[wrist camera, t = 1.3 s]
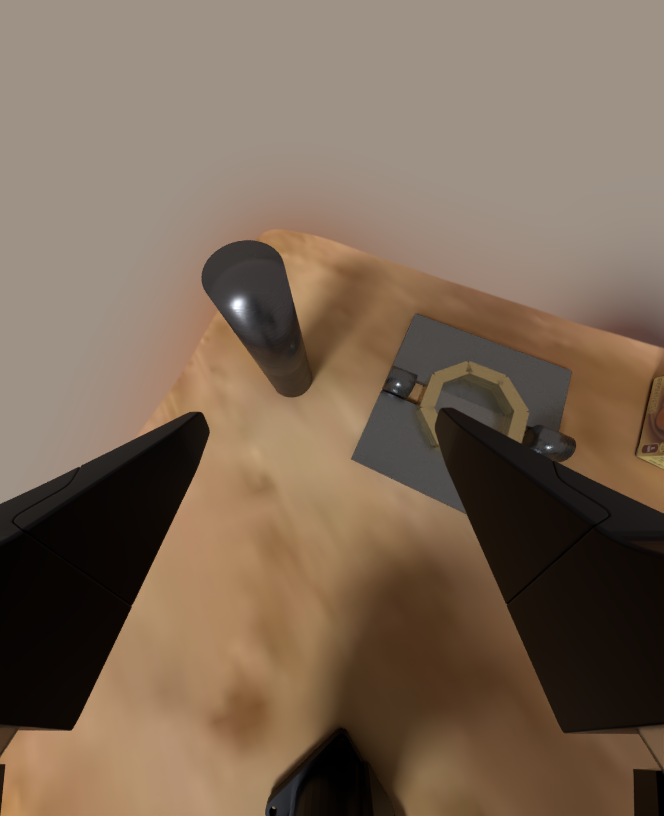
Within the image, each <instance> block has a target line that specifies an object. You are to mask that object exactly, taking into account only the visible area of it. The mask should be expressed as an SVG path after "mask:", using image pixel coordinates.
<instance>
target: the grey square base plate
mask: <svg viewBox="0 0 664 816" xmlns="http://www.w3.org/2000/svg"><path fill="white" fill-rule="evenodd" d="M571 373H572V371H570V370H568V369H565V368H562V367H560V366H557V365H554V364H551V363H549V362H546V361H543V360H541V359H538V358H535V357H532V356H530V355H527V354H524V353H522V352H519V351H516V350H513V349H511V348H508V347H505V346H503V345H500V344H497V343H494V342H492V341H489V340H486V339H484V338H481V337H478V336H475V335H473V334H470V333H467V332H464V331H462V330H459V329H456V328H454V327H451V326H448V325H445V324H443V323H440V322H437V321H435V320H432V319H429V318H426V317H424V316H421V315H418V314H416V313H415V316H414V318H413V320H412V322H411V325H410V327H409V329H408V331H407V334H406V336H405V338H404V340H403V343H402V345H401V347H400V350H399V352H398V354H397V356H396V359H395V361H394V363H393V365H392V368H391V370H390V372H389V375H388V377H387V379H386V381H385V384H384V386H383V389H385V390H387V391H389V392H392V393H394V394H396V395H399V396H401V397H404V398H406V399H407V398H408V396H409V395H410V393H411V391H412V389H413V387H414V385H415V383H418V384H421V385H423V389H422V391H421V394H420V396H419V399H418V401H417V404H416V405H415V404H413V403H411V402H408V401H406V400H403V399H401V398H399V397H396V396H394V395H392V394H389V393H387V392H385V391H381V393H380V395H379V397H378V399H377V402H376V404H375V406H374V409H373V411H372V413H371V415H370V418H369V420H368V422H367V424H366V427H365V429H364V431H363V434H362V436H361V438H360V440H359V443H358V445H357V447H356V449H355V452H354V454H353V456H352V458H351V460H354V461H356V462H358V463H360V464H362V465H364V466H366V467H368V468H370V469H373V470H375V471H377V472H379V473H381V474H383V475H385V476H387V477H389V478H391V479H394V480H396V481H398V482H400V483H402V484H404V485H406V486H408V487H410V488H412V489H415V490H417V491H419V492H421V493H423V494H425V495H427V496H429V497H431V498H434V499H436V500H438V501H440V502H442V503H444V504H446V505H448V506H450V507H452V508H455V509H457V510H459V511H461V512H463V513H465V514H466V511H465V509H464V507H463V504H462V502H461V500H460V498H459V495H458V493H457V491H456V488H455V486H454V484H453V482H452V479H451V477H450V475H449V473H448V470H447V468H446V465H445V462H444V459H443V456H442V453H441V449H440V446H439V443H438V439H437V436H436V433H435V422H436V419H437V415H438V412H439V410H440V408H443V407H452V408H454V409H456V410H458V411H460V412H462V413H464V414H466V415H468V416H470V417H472V418H473V419H475V420H477V421H479V422H481V423H483V424H485V425H487V426H489V427H491V428H493V429H495V430H496V431H498V432H500V433H502V434H504V435H506V436H508V437H510V438H512V439H514V440H516V441H518V442H519V443H522V440H523V445H525V446H527V447H529V448H531V449H533V450H535V451H537V452H539V453H541V454H542V455H544V456H546V457H548V458H550V459H552V460H553V461H556V462H562V461H565V460H567V459H568V458H570V457H571V456H572V454H573V453H574V451H575V448H576V442H575V440H574V439H573V438H572V437H570V436H567V435H565V434H562V433H560V432H559V428H560V424H561V419H562V414H563V410H564V405H565V400H566V396H567V391H568V387H569V382H570V377H571ZM525 428H528V429H529V430H528V431H527V432H526V434H525V436H524V432H525ZM523 436H524V438H523Z"/></svg>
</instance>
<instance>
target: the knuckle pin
mask: <svg viewBox="0 0 664 816" xmlns="http://www.w3.org/2000/svg"><path fill="white" fill-rule="evenodd" d="M202 284H203V287H204V290H205V291H206V293H207V294H208V296H209V297H210V299H211V300H212V301H213V303H214V304H215V306H216V307H217V308H218V310H219V311H220V313H221V314H222V315H223V317H224V318H225V320H226V321H227V322H228V324H229V325H230V327H231V328H232V329H233V331H234V332H235V334H236V335H237V336H238V338H239V339H240V341H241V342H242V343H243V345H244V346H245V347H246V349H247V350H248V352H249V353H250V354H251V356H252V357H253V359H254V360H255V361H256V363H257V364H258V366H259V367H260V368H261V370H262V371H263V373H264V374H265V375H266V377H267V378H268V380H269V381H270V382H271V384H272V385H273V386H274V388H275V389H276V391H277V392H278V393H279V394H281V395H283V396H285V397H297V396H300V395H302V394H304V393H305V392H306V391H307V390H308V389H309V387H310V385H311V382H312V374H311V370H310V366H309V362H308V358H307V354H306V350H305V346H304V342H303V338H302V334H301V330H300V326H299V322H298V318H297V314H296V310H295V306H294V302H293V298H292V294H291V290H290V286H289V282H288V278H287V274H286V270H285V266H284V263H283V260H282V258H281V256H280V254H279V253H278V252H277V251H276V250H275V249H274V248H272V247H271V246H269V245H267V244H265V243H262V242H258V241H251V240H246V241H238V242H234V243H231V244H228V245H226V246H224V247H222V248H220V249H219V250H217V251H216V252H215V253H214V254H213V255H211V257H210V258H209V259H208V260H207V262H206V264H205V266H204V268H203V271H202Z"/></svg>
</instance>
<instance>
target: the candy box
mask: <svg viewBox="0 0 664 816" xmlns="http://www.w3.org/2000/svg"><path fill="white" fill-rule="evenodd" d="M635 456H636V457H639V458H641V459H643V460H645V461H647V462H649V463H652V464H654V465H656V466H658V467H660V468H662V469H664V376H661V377H658V378H655V379H654V382H653V387H652V391H651V396H650V399H649V403H648V407H647V413H646V417H645V421H644V426H643V430H642V435H641V440H640V444H639V446H638V448H637V451H636V455H635Z"/></svg>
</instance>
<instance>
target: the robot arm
mask: <svg viewBox="0 0 664 816" xmlns="http://www.w3.org/2000/svg"><path fill="white" fill-rule="evenodd" d="M209 433H210V430H209V427H208V424H207V422H206V419H205V417H204V415H203V413H202V412H189V413H187V414H185V415H182V416H180V417H178V418H176V419H174V420H172V421H170V422H168V423H166V424H164V425H162V426H160V427H158V428H156V429H154V430H152V431H150V432H148V433H146V434H144V435H142V436H140V437H138V438H136V439H134V440H132V441H130V442H128V443H126V444H124V445H122V446H120V447H118V448H116V449H114V450H112V451H110V452H108V453H106V454H104V455H102V456H100V457H98V458H96V459H94V460H92V461H90V462H88V463H86V464H84V465H82V466H81V467H77V468H75V469H73V470H71V471H69V472H68V473H66V474H63V475H62V476H59V477H57V478H55V479H53V480H51V481H49V482H47V483H45V484H43V485H41V486H39V487H36V488H34V489H32V490H30V491H28V492H25V493H23V494H21V495H19V496H17V497H15V498H13V499H10V500H8V501H6V502H4V503H2V504H0V757H1V756H2V754H3V753H4V751H5V750H6V748H7V747H8V745H9V744H10V742H11V741H12V739H13V738H14V736H15V734H16V733H17V731H18V730H48V731H71V730H72V729H73V728H74V726H75V724H76V722H77V721H78V719H79V717H80V715H81V713H82V711H83V708H84V706H85V704H86V702H87V700H88V698H89V696H90V694H91V692H92V690H93V687H94V685H95V683H96V681H97V679H98V677H99V675H100V673H101V671H102V669H103V666H104V664H105V662H106V660H107V658H108V656H109V654H110V652H111V650H112V648H113V645H114V643H115V641H116V639H117V637H118V635H119V633H120V631H121V629H122V627H123V624H124V622H125V620H126V618H127V616H128V614H129V612H130V610H131V608H132V606H131V605H133V603H134V601H135V599H136V597H137V595H138V593H139V590H140V588H141V586H142V584H143V582H144V580H145V578H146V576H147V574H148V572H149V569H150V567H151V565H152V563H153V561H154V559H155V557H156V555H157V553H158V551H159V548H160V546H161V544H162V542H163V540H164V538H165V536H166V534H167V532H168V530H169V527H170V525H171V523H172V521H173V519H174V517H175V515H176V513H177V511H178V509H179V506H180V504H181V502H182V500H183V498H184V496H185V494H186V492H187V490H188V488H189V485H190V483H191V481H192V479H193V477H194V475H195V473H196V471H197V468H198V466H199V463H200V460H201V457H202V454H203V451H204V449H205V446H206V443H207V440H208V437H209ZM435 433H436V436H437V439H438V443H439V446H440V449H441V453H442V456H443V459H444V462H445V465H446V468H447V470H448V473H449V475H450V477H451V479H452V482H453V484H454V486H455V488H456V491H457V493H458V495H459V498H460V500H461V502H462V504H463V507H464V509H465V511H466V514H467V516H468V518H469V520H470V523H471V525H472V527H473V530H474V532H475V534H476V536H477V539H478V541H479V543H480V546H481V548H482V550H483V552H484V555H485V557H486V559H487V561H488V564H489V566H490V568H491V571H492V573H493V575H494V577H495V580H496V582H497V584H498V587H499V589H500V591H501V593H502V596H503V598H504V600H505V603H506V604H507V608H508V610H509V612H510V614H511V617H512V619H513V621H514V624H515V626H516V628H517V630H518V633H519V635H520V637H521V640H522V642H523V644H524V646H525V649H526V651H527V653H528V655H529V658H530V660H531V662H532V665H533V667H534V669H535V671H536V674H537V676H538V678H539V681H540V683H541V685H542V687H543V690H544V692H545V694H546V697H547V699H548V701H549V703H550V706H551V708H552V710H553V712H554V715H555V717H556V719H557V721H558V723H559V725H560V727H561V729H562V731H563V733H581V734H639V735H640V737H641V738H642V740H643V741H644V743H645V745H646V746H647V748H648V749H649V751H650V753H651V754H652V756H653V757H654V759H655V761H656V762H657V764H658V765H659V767H660V768H661V770H655V769H633V772H634V816H664V514H663V513H661V512H659V511H657V510H655V509H653V508H650V507H648V506H646V505H644V504H642V503H640V502H638V501H635V500H633V499H631V498H629V497H627V496H625V495H623V494H620V493H618V492H616V491H614V490H612V489H610V488H608V487H606V486H604V485H602V484H599V483H597V482H595V481H593V480H591V479H589V478H587V477H585V476H583V475H581V474H579V473H577V472H575V471H573V470H571V469H569V468H567V467H565V466H564V465H562V464H560V463H558V462H556V461H552V459H550V458H548V457H546V456H544V455H542V454H541V453H539V452H537V451H535V450H533V449H531V448H529V447H527V446H525V445H523V444H521V443H519V442H518V441H516V440H514V439H512V438H510V437H508V436H506V435H504V434H502V433H500V432H498V431H496V430H495V429H493V428H491V427H489V426H487V425H485V424H483V423H481V422H479V421H477V420H475V419H473V418H472V417H470V416H468V415H466V414H464V413H462V412H460V411H458V410H456V409H454V408H452V407H443V408H440V410H439V412H438V415H437V419H436V422H435ZM339 739H344V742H340V741H339ZM4 773H5V764H0V813H1V803H2V793H3V783H4ZM272 806H274V807H276V809H273V808H272ZM265 815H266V816H395V815H394V812H393V806H392V803H391V801H390V799H389V798H388V796H387V794H386V792H385V791H384V789H383V787H382V785H381V784H380V782H379V780H378V778H377V776H376V775H375V773H374V771H373V769H372V768H371V766H370V764H369V763H368V762H367V761H365V760H363V758H362V757H361V755H360V753H359V751H358V750H357V748H356V746H355V744H354V743H353V741H352V739H351V737H350V735H349V734H348V732H347V731H346V729H344V728H339V729H337V730H336V731H335V732H334V733H333V734H332V735H331V736H330V737H329V738H328V739H327V740H326V741H325V742H324V743H323V744H322V745H321V746H320V747H319V748H318V749H317V750H316V751H315V752H314V753H313V754H312V755H311V756H310V757H309V758H308V759H307V760H306V761H305V762H304V763H302V764H301V765H300V766H299V767H298V768H297V769H296V770H295V771H294V772H293V773H292V774H291V775H290V776H289V777H288V778H287V779H286V780H285V781H284V782H283V783H282V784H281V785H280V786H279V787H278V788H277V789H276V790H275V791H274V792H273V793H272V794H271V795H270V796H269V798H268V801H267V805H266V810H265Z"/></svg>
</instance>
